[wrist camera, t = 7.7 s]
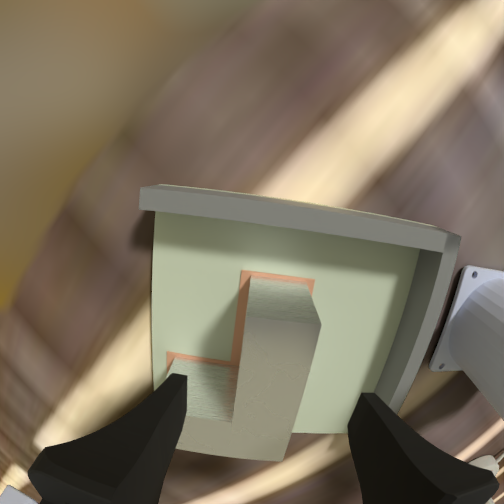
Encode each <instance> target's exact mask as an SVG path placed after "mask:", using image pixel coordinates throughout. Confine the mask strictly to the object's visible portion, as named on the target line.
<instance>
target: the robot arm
mask: <svg viewBox="0 0 504 504" xmlns="http://www.w3.org/2000/svg"><path fill="white" fill-rule="evenodd" d="M473 272H474V275H473V276H472V274H473ZM429 369H430V370H431V371H432V372H442V371H459V370H463V371H464V372H465V374H466V375H467V376H468V377H469V378H470V380H471V381H472V382H473V383H474V384H475V386H476V387H477V388H478V389H479V390H480V392H481V393H482V394H483V395H484V397H485V398H486V399H487V400H488V402H489V403H490V404H491V405H492V407H493V408H494V409H495V410H496V412H497V413H498V414H499V416H500V417H501V418H502V419H503V421H504V271H499V270H493V269H487V268H481V267H476V266H470V265H468V266H465V267H464V268H463V270H462V273H461V276H460V280H459V283H458V286H457V290H456V293H455V296H454V299H453V303H452V306H451V309H450V312H449V315H448V317H447V320H446V323H445V326H444V329H443V331H442V334H441V337H440V339H439V342H438V344H437V347H436V349H435V352H434V354H433V357H432V359H431V361H430V364H429ZM187 381H188V375H182V374H177V373H172V374H170V375H169V376H168V378H167V379H166V380H165V381H164V382H163V383H162V384H161V385H160V386H159V387H158V388H157V389H156V390H155V391H154V392H153V393H151V394H150V395H149V396H148V397H147V398H146V399H145V400H144V401H142V402H141V403H140V404H139V405H137V406H136V407H135V408H134V409H132V410H131V411H130V412H128V413H127V414H125V415H124V416H123V417H121V418H119V419H118V420H116V421H115V422H113V423H111V424H110V425H108V426H106V427H104V428H102V429H100V430H98V431H96V432H94V433H92V434H89V435H87V436H84V437H81V438H79V439H76V440H73V441H70V442H66V443H62V444H58V445H54V446H49V447H45V448H44V449H43V451H42V452H41V453H40V454H39V455H38V457H37V458H36V460H35V461H34V463H33V464H32V466H31V467H30V469H29V470H28V477H29V479H30V481H31V483H32V484H33V486H34V487H35V488H36V490H37V491H38V493H39V494H40V495H41V497H42V500H41V502H40V504H158V502H159V498H160V494H161V489H162V485H163V481H164V478H165V475H166V472H167V469H168V466H169V464H170V461H171V458H172V456H173V453H174V451H175V448H176V445H177V443H178V440H179V438H180V435H181V432H182V429H183V425H184V421H185V417H186V412H187ZM347 428H348V438H349V445H350V449H351V453H352V456H353V460H354V464H355V468H356V471H357V475H358V479H359V482H360V487H361V492H362V500H363V504H485V503H486V502H487V501H488V500H489V499H490V498H491V497H492V496H493V495H494V494H495V493H496V491H497V490H498V488H499V483H498V481H497V479H496V477H495V476H494V474H493V472H492V471H491V470H487V469H484V468H480V467H477V466H474V465H471V464H468V463H466V462H464V461H461V460H459V459H457V458H455V457H453V456H451V455H449V454H447V453H445V452H443V451H442V450H440V449H438V448H437V447H435V446H434V445H432V444H431V443H429V442H428V441H427V440H425V439H424V438H423V437H421V436H420V435H419V434H418V433H416V432H415V431H414V430H413V429H412V428H410V427H409V426H408V425H407V424H406V423H405V422H404V421H403V420H402V419H401V418H400V417H399V416H398V415H397V414H396V413H395V412H394V411H393V410H392V409H391V408H390V407H389V406H388V405H387V404H386V403H385V402H384V401H383V400H382V399H381V398H380V397H378V396H377V395H376V394H375V393H365V392H361V394H360V397H359V399H358V402H357V404H356V406H355V409H354V411H353V413H352V416H351V418H350V420H349V422H348V425H347ZM0 504H39V503H38V502H36V501H35V500H34V499H32V498H31V497H29V496H27V495H26V494H24V493H22V492H21V491H19V490H17V489H16V488H14V487H12V486H11V485H7V487H6V488H5V490H4V491H3V493H2V494H1V496H0Z"/></svg>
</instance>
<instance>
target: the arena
mask: <svg viewBox="0 0 504 504" xmlns="http://www.w3.org/2000/svg"><path fill="white" fill-rule="evenodd" d="M139 209H141V210H150V211H155V226H154V243H153V267H152V359H153V382H154V391H155V390H156V389H157V388H158V387H159V386H160V385H161V384H162V383H163V382H164V381H165V379H166V376H167V374H168V372H169V370H170V367H171V365H172V363H173V360H174V358H175V356H176V357H182V358H187V359H193V360H199V361H206V362H212V363H219V364H226V365H234V366H239V363H240V355H241V348H242V340H243V332H244V325H245V317H246V309H247V302H248V294H249V286H250V279H251V275H254V276H262V277H270V278H278V279H287V280H295V281H303V282H306V283H307V286H308V288H309V291H310V294H311V297H312V299H313V302H314V305H315V308H316V310H317V313H318V316H319V319H320V321H321V324H322V326H321V330H320V334H319V338H318V342H317V346H316V350H315V354H314V358H313V361H312V365H311V369H310V372H309V376H308V380H307V383H306V387H305V390H304V394H303V397H302V401H301V404H300V407H299V411H298V414H297V417H296V421H295V424H294V427H293V430H292V432H295V433H348V428H347V425H348V422H349V420H350V418H351V416H352V413H353V411H354V409H355V406H356V404H357V402H358V399H359V397H360V394H361V392H365V393H375V394H376V395H377V396H378V397H380V398H381V399H382V400H383V401H384V402H385V403H386V404H387V405H388V406H389V407H390V408H391V409H392V410H393V411H394V412H395V413H396V414H398V412H399V410H400V408H401V406H402V404H403V402H404V400H405V398H406V396H407V394H408V392H409V390H410V388H411V385H412V383H413V381H414V379H415V377H416V374H417V372H418V370H419V367H420V365H421V363H422V360H423V358H424V356H425V353H426V351H427V348H428V346H429V343H430V340H431V338H432V335H433V332H434V330H435V327H436V324H437V321H438V318H439V315H440V312H441V309H442V306H443V303H444V300H445V297H446V294H447V291H448V287H449V284H450V280H451V277H452V273H453V269H454V266H455V262H456V258H457V254H458V250H459V245H460V241H461V236H459V235H456V234H454V233H451V232H449V231H446V230H444V229H441V228H439V227H436V226H433V225H428V224H424V223H419V222H414V221H409V220H404V219H399V218H394V217H389V216H384V215H379V214H373V213H368V212H362V211H357V210H351V209H345V208H339V207H334V206H328V205H321V204H315V203H309V202H302V201H296V200H289V199H282V198H275V197H268V196H261V195H253V194H245V193H238V192H229V191H221V190H212V189H203V188H194V187H185V186H174V185H164V184H160V185H154V186H148V187H142V188H140V200H139Z"/></svg>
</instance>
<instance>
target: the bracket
mask: <svg viewBox="0 0 504 504" xmlns="http://www.w3.org/2000/svg"><path fill="white" fill-rule="evenodd" d="M321 326H322V324H321V321H320V319H319V316H318V313H317V310H316V308H315V305H314V302H313V299H312V297H311V294H310V291H309V288H308V286H307V283H306V282H303V281H295V280H287V279H278V278H270V277H262V276H254V275H251V279H250V286H249V294H248V302H247V309H246V317H245V325H244V332H243V340H242V348H241V355H240V363H239V366H234V365H226V364H219V363H212V362H206V361H199V360H193V359H187V358H182V357H176V356H175V358H174V360H173V363H172V365H171V367H170V370H169V372H168V374H167V376H166V379H167V378H168V376H169V375H170V374H172V373H177V374H182V375H188V381H187V412H186V417H185V421H184V425H183V429H182V432H181V435H180V438H179V440H178V443H177V445H176V449H182V450H187V451H192V452H198V453H204V454H211V455H217V456H225V457H233V458H242V459H252V460H265V461H281V462H282V460H283V457H284V455H285V452H286V449H287V446H288V443H289V439H290V436H291V433H292V430H293V427H294V424H295V421H296V417H297V414H298V411H299V407H300V404H301V401H302V397H303V394H304V390H305V387H306V383H307V380H308V376H309V372H310V369H311V365H312V361H313V358H314V354H315V350H316V346H317V342H318V338H319V334H320V330H321ZM166 379H165V380H166Z"/></svg>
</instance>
